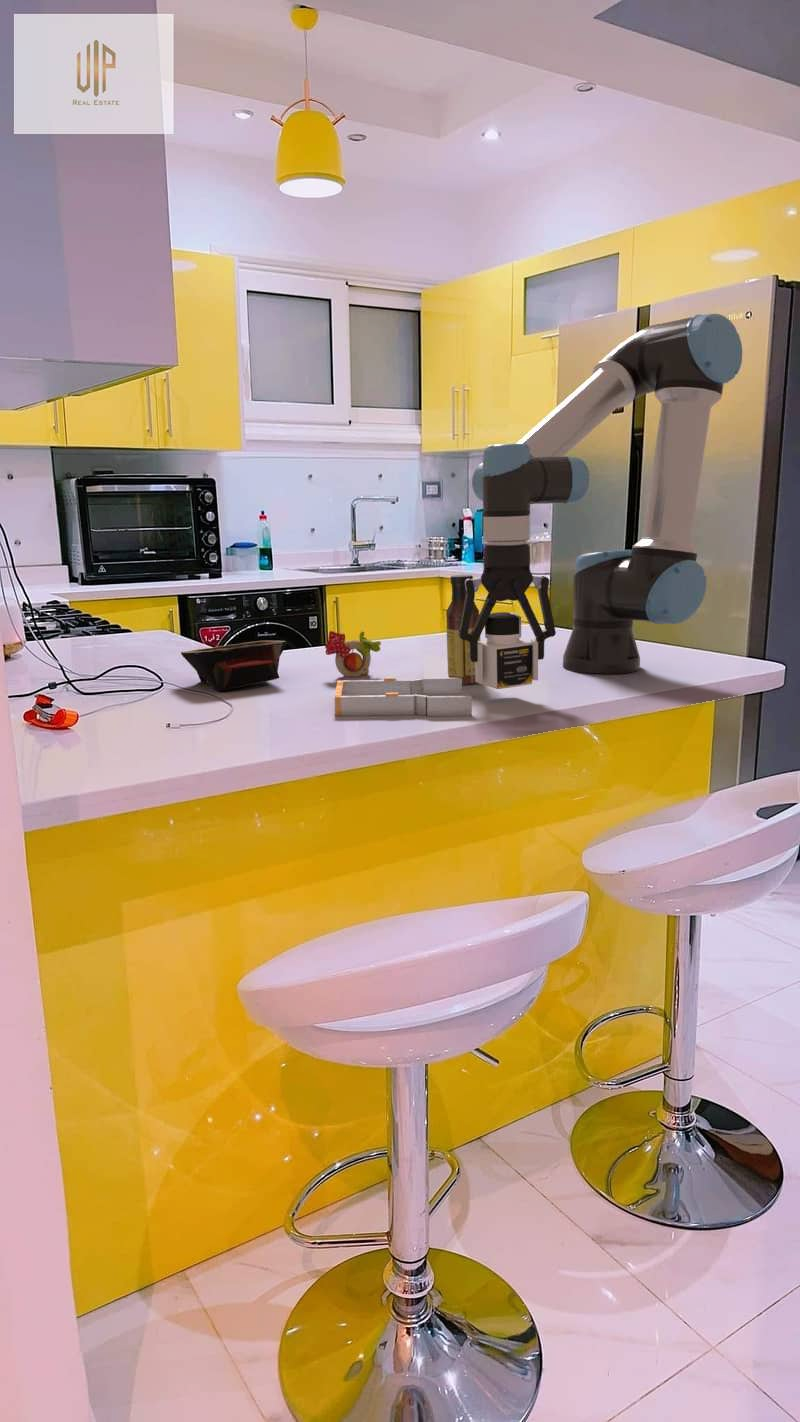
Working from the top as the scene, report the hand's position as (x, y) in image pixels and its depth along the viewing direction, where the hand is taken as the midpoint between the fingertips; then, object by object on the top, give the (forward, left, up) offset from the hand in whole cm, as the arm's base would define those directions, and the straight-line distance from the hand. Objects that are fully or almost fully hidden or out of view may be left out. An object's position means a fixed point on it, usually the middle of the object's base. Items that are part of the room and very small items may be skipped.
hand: (506, 679), depth 154 cm
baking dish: (+47, -18, -5) cm, 50 cm away
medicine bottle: (0, -2, -1) cm, 2 cm away
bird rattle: (+26, -23, -4) cm, 35 cm away
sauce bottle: (+6, -17, -4) cm, 18 cm away
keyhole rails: (+17, +2, -4) cm, 18 cm away
